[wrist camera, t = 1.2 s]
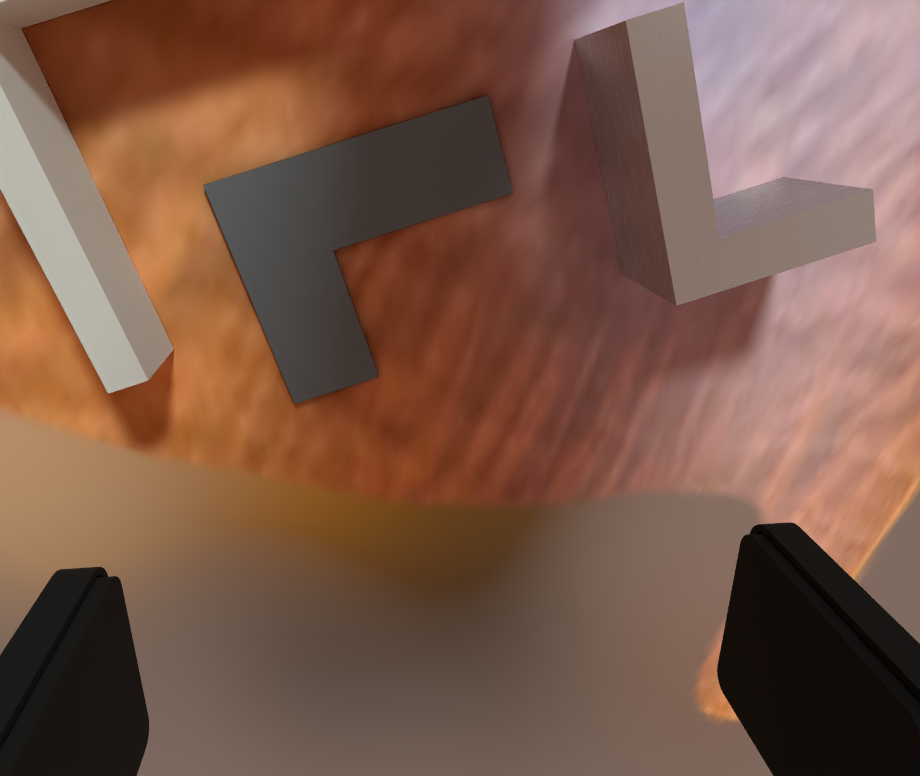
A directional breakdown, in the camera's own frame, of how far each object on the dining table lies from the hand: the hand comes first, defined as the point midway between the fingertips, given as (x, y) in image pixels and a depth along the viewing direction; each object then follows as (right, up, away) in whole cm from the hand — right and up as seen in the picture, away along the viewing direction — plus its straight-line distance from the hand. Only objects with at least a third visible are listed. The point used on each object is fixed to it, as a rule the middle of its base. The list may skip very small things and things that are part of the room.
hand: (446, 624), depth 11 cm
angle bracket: (+10, +14, +20) cm, 26 cm away
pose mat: (-3, +9, +20) cm, 22 cm away
